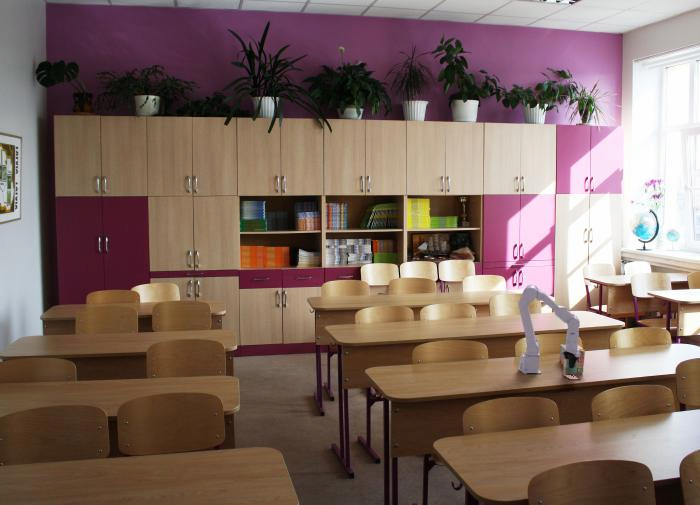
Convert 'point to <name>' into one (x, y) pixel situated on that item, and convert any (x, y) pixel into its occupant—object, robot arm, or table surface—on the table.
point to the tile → (569, 370)
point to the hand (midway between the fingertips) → (570, 367)
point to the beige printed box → (579, 361)
